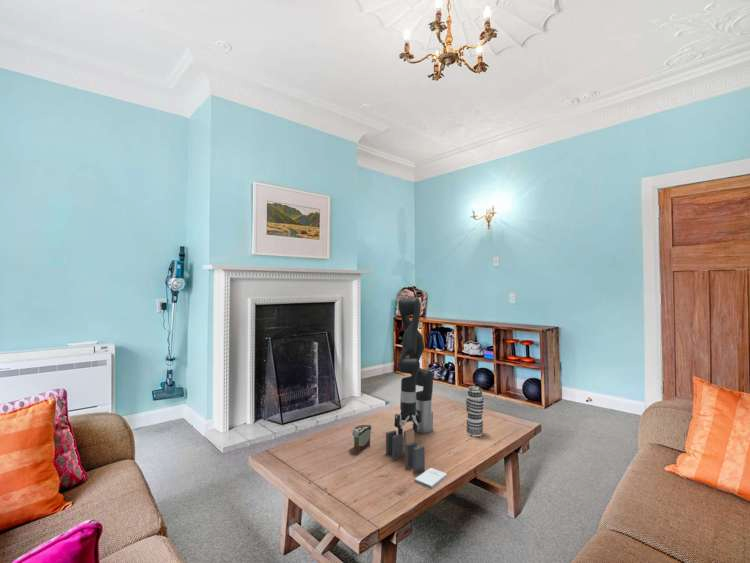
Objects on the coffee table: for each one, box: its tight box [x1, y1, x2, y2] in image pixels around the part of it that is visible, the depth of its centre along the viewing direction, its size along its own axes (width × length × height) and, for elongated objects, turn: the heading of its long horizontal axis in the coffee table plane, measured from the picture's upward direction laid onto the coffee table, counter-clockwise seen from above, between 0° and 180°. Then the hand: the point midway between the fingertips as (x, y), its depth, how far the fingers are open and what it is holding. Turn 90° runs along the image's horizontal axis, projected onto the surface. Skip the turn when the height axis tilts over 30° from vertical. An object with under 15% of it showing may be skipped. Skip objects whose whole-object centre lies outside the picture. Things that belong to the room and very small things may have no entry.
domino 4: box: [405, 440, 418, 469], centre depth 163 cm, size 5×2×10 cm, turn 124°
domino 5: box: [412, 445, 426, 474], centre depth 159 cm, size 5×2×10 cm, turn 124°
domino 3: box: [403, 428, 415, 454], centre depth 177 cm, size 5×2×10 cm, turn 124°
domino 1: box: [385, 430, 398, 456], centre depth 175 cm, size 5×2×10 cm, turn 124°
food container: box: [351, 424, 372, 454], centre depth 180 cm, size 12×6×10 cm, turn 149°
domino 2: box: [391, 434, 404, 460], centre depth 171 cm, size 5×2×10 cm, turn 124°
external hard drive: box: [413, 467, 448, 490], centre depth 152 cm, size 2×8×12 cm
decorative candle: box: [465, 385, 484, 437], centre depth 199 cm, size 9×9×25 cm
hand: (407, 434), depth 177 cm, fingers open, 8 cm apart
